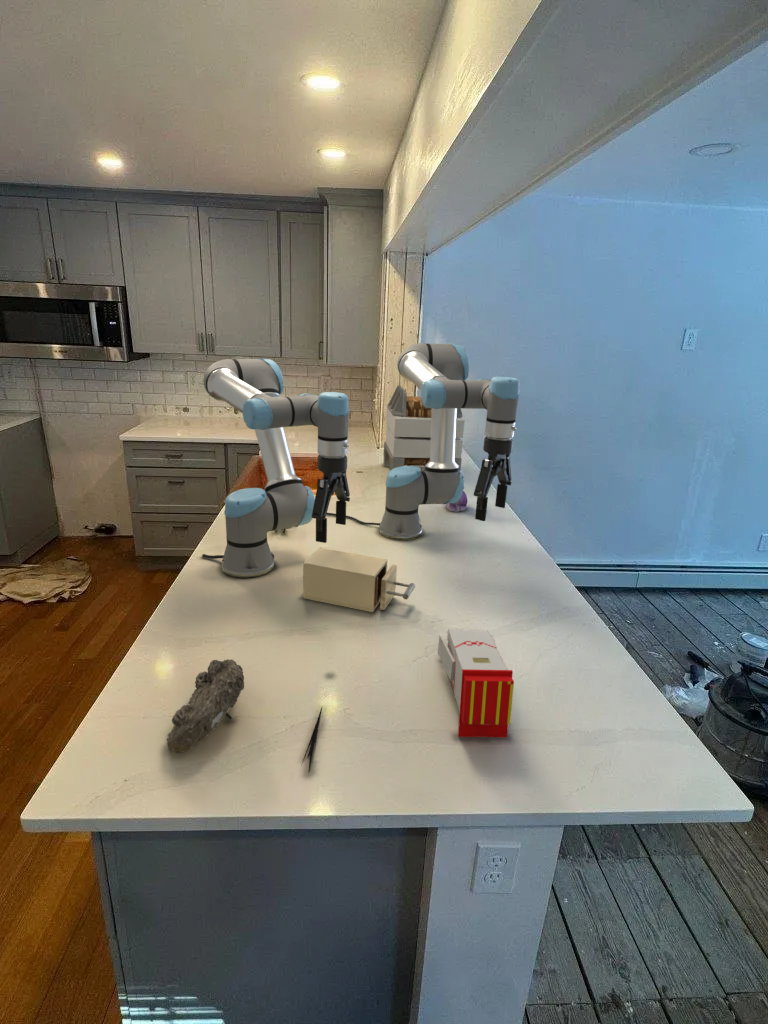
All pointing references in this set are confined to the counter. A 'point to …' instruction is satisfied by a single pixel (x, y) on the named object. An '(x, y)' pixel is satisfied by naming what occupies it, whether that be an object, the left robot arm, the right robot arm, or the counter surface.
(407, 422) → the transformer
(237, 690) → the fossil
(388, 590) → the drawer
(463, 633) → the toy
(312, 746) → the feather
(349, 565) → the cabinet
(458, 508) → the figurine
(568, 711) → the counter surface
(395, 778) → the counter surface
